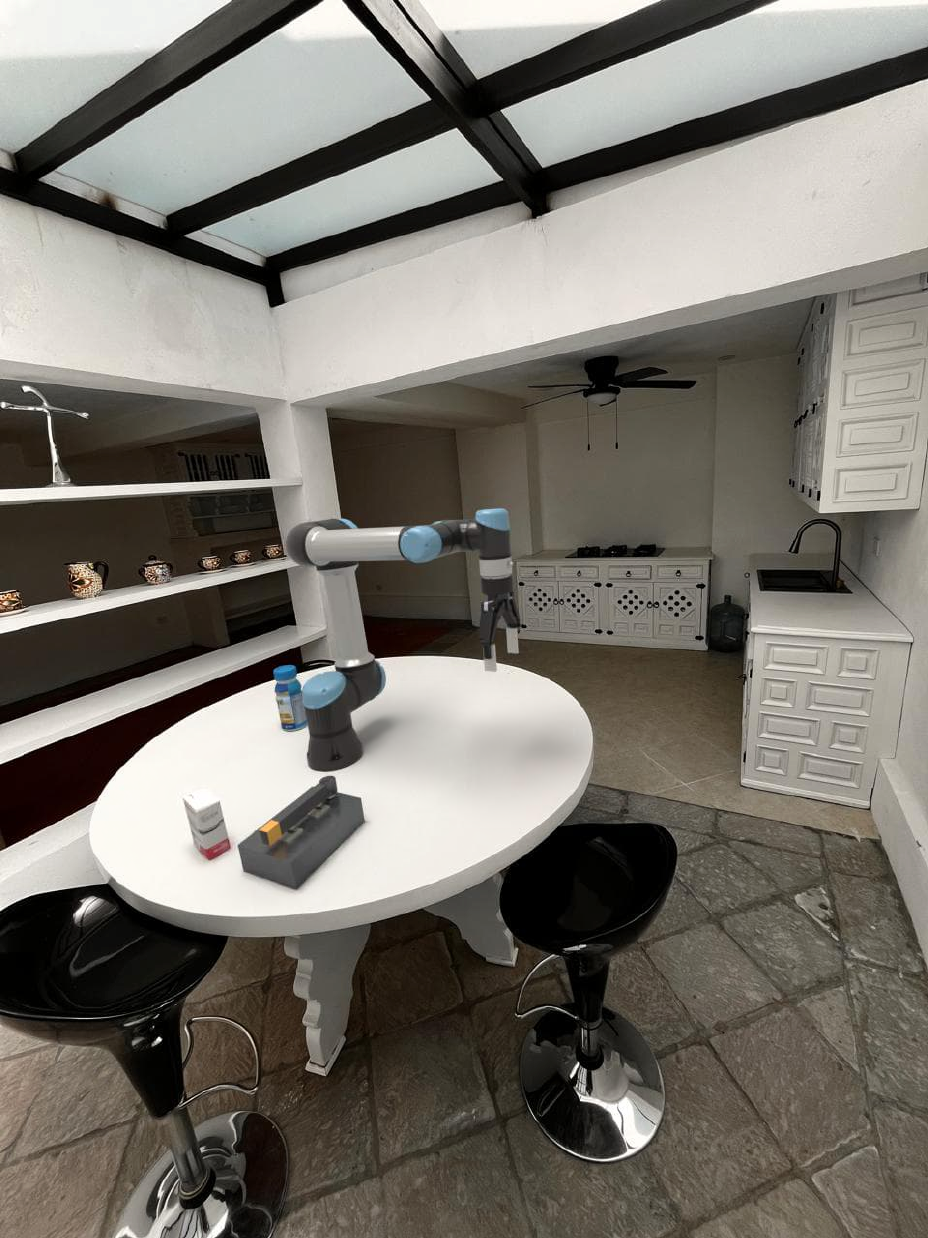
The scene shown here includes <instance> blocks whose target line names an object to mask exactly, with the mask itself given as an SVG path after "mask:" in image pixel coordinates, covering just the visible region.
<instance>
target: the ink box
mask: <svg viewBox="0 0 928 1238" xmlns="http://www.w3.org/2000/svg"><path fill="white" fill-rule="evenodd" d="M182 800H183V804H184V808H185V812H186V816H187V821H188V825H189V828H190V833H191V837H192V840H193V844H194V846H195V847H196V848H197V849H198V850H199V851H200V852H201V854H202V855H203V856H204V857H205V858H206V859H207V860H208V861H210V860H212V859H214V858H216V857H217V856H220V855H222V854H224V853H225V852H226V851H229V850H230V849H231V848H232V847H231V842H230V838H229V834H228V830H227V826H226V822H225V817H224V815H223V810H222V809H223V808H222V805H221V801H220V799H219V798H218V797H217V796H215V795H214V794H213V793H212V792H211V791H210V790H209V789H208V788H206V787H204V788H202V789H199V790H195V791H193V792H191V793H189V794H186V795H185V796H183V797H182Z"/></svg>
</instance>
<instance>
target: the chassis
mask: <svg viewBox="0 0 928 1238" xmlns="http://www.w3.org/2000/svg"><path fill="white" fill-rule="evenodd" d="M313 787H314V786H311V787H310V788H308V790H306V791H305V792H303V793H302V794H301V795H300V796H298V797H297V798H296V799H295V800H293V801H292V802H291V803H289V804H288V805H287V806H286V807H284V808H283V809H282V810H281V811H279V812H278V813H276V814H275V815H274V816H272V818H270V819H269V820H267V821H266V822H265V823H264V824H262V825H261V826H260V827H258V828H257V829H256V830H255V831H253V832H252V833H251V834H249V835H248V836H247V837H246V838H245V839H243V840H242V841H241V842H240V843H238V844H237V849H238V854H239V858H240V863H241V865H242V870H243V871H242V872H245V873H247V874H250V875H254V876H255V877H259V878H261V879H264V880H266V881H270V882H272V883H275V884H279V885H281V886H284V887H286V888H289V889H292V890H294V891H297V890H298V889H299V888H300V887H301V886H302V885H303V884H304V883H305V882H306V881H307V880H308V879H309V878H310V877H311V876H313V874H314V873H315V872H316V871H317V870H318V869H319V868H320V867H321V866H322V865H323V864H324V863H325V862H326V861H327V860H328V859H329V858H330V857H331V856H332V855H333V854H334V853H336V851H337V850H338V849H339V848H340V847H341V846H342V845H343V844H344V843H345V842H346V841H347V840H348V839H349V838H350V837H351V836H352V835H353V834H354V833H355V832H356V831H357V830H358V829H359V828H360V827H361V826H362V825H363V824H364V823H365V822H366V820H365V813H364V808H363V807H364V806H363V800H362V797H360V796H354V795H351V794H346V793H343V792H338V791H337V793H336V794H335V795H333V796H330V797H328V798H326V799H325V800H324V801H323V802H322V803H320V804H319V805H318V806H317V807H316V808H314V809H313V810H312V811H311V812H310V813H309V814H307V815H306V816H305V817H304V818H303V819H301V820H300V821H299V822H298V823H297V824H295V825H294V826H293V827H292V828H291V829H289V830H288V831H287V832H286V833H285V834H284V835H282V837H281V838H279V839H278V840H277V841H276V842H275V843H273V844H272V845H271V846H268V845H264V844H262V841H261V836H260V832H259V829H261V828H262V827H263V826H264V825H266V824H267V823H268V822H270V821H271V820H273V819H274V818H275V817H276V816H278V815H279V814H280V813H282V812H283V811H284V810H285V809H287V808H288V807H289V806H290V805H292V804H293V803H294V802H296V801H297V800H298V799H299V798H301V797H302V796H303V795H304V794H306V793H307V792H308V791H310V790H311V789H312V788H313Z"/></svg>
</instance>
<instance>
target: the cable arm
mask: <svg viewBox="0 0 928 1238" xmlns="http://www.w3.org/2000/svg"><path fill="white" fill-rule="evenodd" d="M337 783H338V782H337V779H336V776H335V775H326V776H324V777H321V778H320V779H319V781H318V782H317V784H315V786H313V788H312V789H311V790H310V791H308V792H307V793H306V794H304V795H303V796H302V797H301V798H299V799H298V800H297V801H296V802H294V803H293V804H292V805H290V806H289V807H288V808H287V809H285V810H284V811H283V812H282V813H280V814H279V815H278V816H276V817H275V818H274V819H273V820H271V821H270V822H268V821H267V822H268V823H267V824H266V825H264V824H263V825H264V826H263V825H262V826H263V827H262V828H261V829H259V828H258V829H259V832H260V836H261V841H262V844H264V845H268V846H271V845H272V844H273V843H275V842H276V841H277V840H278V839H279V838H281V837H282V835H284V834H285V833H286V832H287V831H288V830H289V829H291V828H292V827H293V826H294V825H295V824H297V823H298V822H299V821H300V820H301V819H303V818H304V817H305V816H306V815H307V814H309V813H310V812H311V811H312V810H313V809H314V808H316V807H317V806H318V805H319V804H320V803H322V802H323V801H324V800H325V799H326V798H328V797H330V796H333V795H335V794H336V793H337V792H338V784H337Z"/></svg>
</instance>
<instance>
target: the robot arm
mask: <svg viewBox="0 0 928 1238" xmlns="http://www.w3.org/2000/svg"><path fill="white" fill-rule="evenodd" d="M509 517H510V516H509V512H508V511H507V509H505V508H488V509H480V510H479V509H478V510H477V511H476V512H475V517H474V518H471V519H452V520H450V519H444V520H440V521H435V522H433V523H431V524H425V525H409V526H389V527H368V528H366V527H365V528H359V527H357V525H356V524H354V523H353V522H352V521H351V520H349V519H346V518H329V519H323V520H322V519H321V520H316V521H307V522H302V523H299V524H297V525H295V526H294V527H293V528H292V529H290V530H289V532H288V534H287V535H286V538H285V539H286V540H285V550H286V553H287V555H288V556H289V558H290V559H291V560H292V561H293V562H294V563H295V564H297V565H299V566H301V567H305V568H312V567H315V568H316V569H315V570H316V572H317V573H319V574H320V575H321V576H322V578H323V581H324V587H325V592H326V597H327V602H328V608H329V612H330V618H331V623H332V624H331V625H332V629H333V634H334V639H335V645H336V651H337V656H338V657H337V659H336V661H335V662H334V668H335V669H334V670H332V671H326V672H323V673H318V674H316V675H314V676H312V677H311V678H309V679H308V680H306V681H305V683H304V684H303V685H302V687H301V690H302V694H303V704H304V708H305V713H306V718H307V729H308V733H309V735H308V736H309V739H308V740H309V741H308V745H307V752H306V760H307V765H308V767H309V768H310V769H312V770H314V771H318V772H330V771H335V770H339V769H343V768H346V767H348V766H350V765H352V764H354V763H356V762H357V761H359V760H360V759H361V757H362V756H363V752H364V751H363V745H362V744H363V743H362V742H361V740H360V739H359V737H358V734H357V733H356V731H355V729H354V726H353V723H352V715H351V713H352V712H354V711H356V710H357V709H359V708H361V707H363V706H365V705H366V704H367V703H369V702H371V701H373V700H374V699H376V698H377V696H379V695H380V694H381V693H382V692H383V691H384V689H385V686H386V683H387V682H386V681H387V677H386V676H387V675H386V671H385V668H384V667H383V666H382V665H381V663H380V662H379V661H378V660H376V658H375V655H374V654H372V653H371V652H369V649H368V643H367V637H366V632H365V631H366V630H365V627H364V626H365V625H364V618H363V614H362V608H361V603H360V596H359V591H358V586H357V580H356V573H355V571H356V569H357V568H358V566H359V562H364V561H365V562H370V561H371V562H372V561H375V562H376V561H410V562H412V563H416V564H420V563H427V562H431V561H433V560H435V559H438V558H442V557H444V556H448V555H452V554H455V553H459V552H460V553H462V552H478V557H479V559H478V560H479V575H480V576H481V577H482V578H481V579H480V585H481V587H480V588H481V593H482V594H484V595H486V597H487V601H481V603H480V609H481V610H480V619H479V627H478V636H477V645H479V646H482V650H483V651H482V652H483V662H484V663H483V664H484V671H485V672H492V673H495V672H497V671H498V670H497V669H498V668H497V667H498V666H497V655H496V644H495V643H494V639H495V636H496V632H497V627H498V622H499V621H500V620H501V618H502V619H503V620H504V622H505V624H506V625H507V627H506V628H505V631H506V647H507V653H508V654H511V653H512V654H519V652H520V651H519V639H518V638H519V637H518V636H519V634H518V628H521V627H522V623H521V622H522V621H521V617H520V613H519V609H518V607H517V603H516V599H515V592H514V578H513V576H512V575H511V574H513V566H514V561H512V548H511V526H510V518H509Z"/></svg>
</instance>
